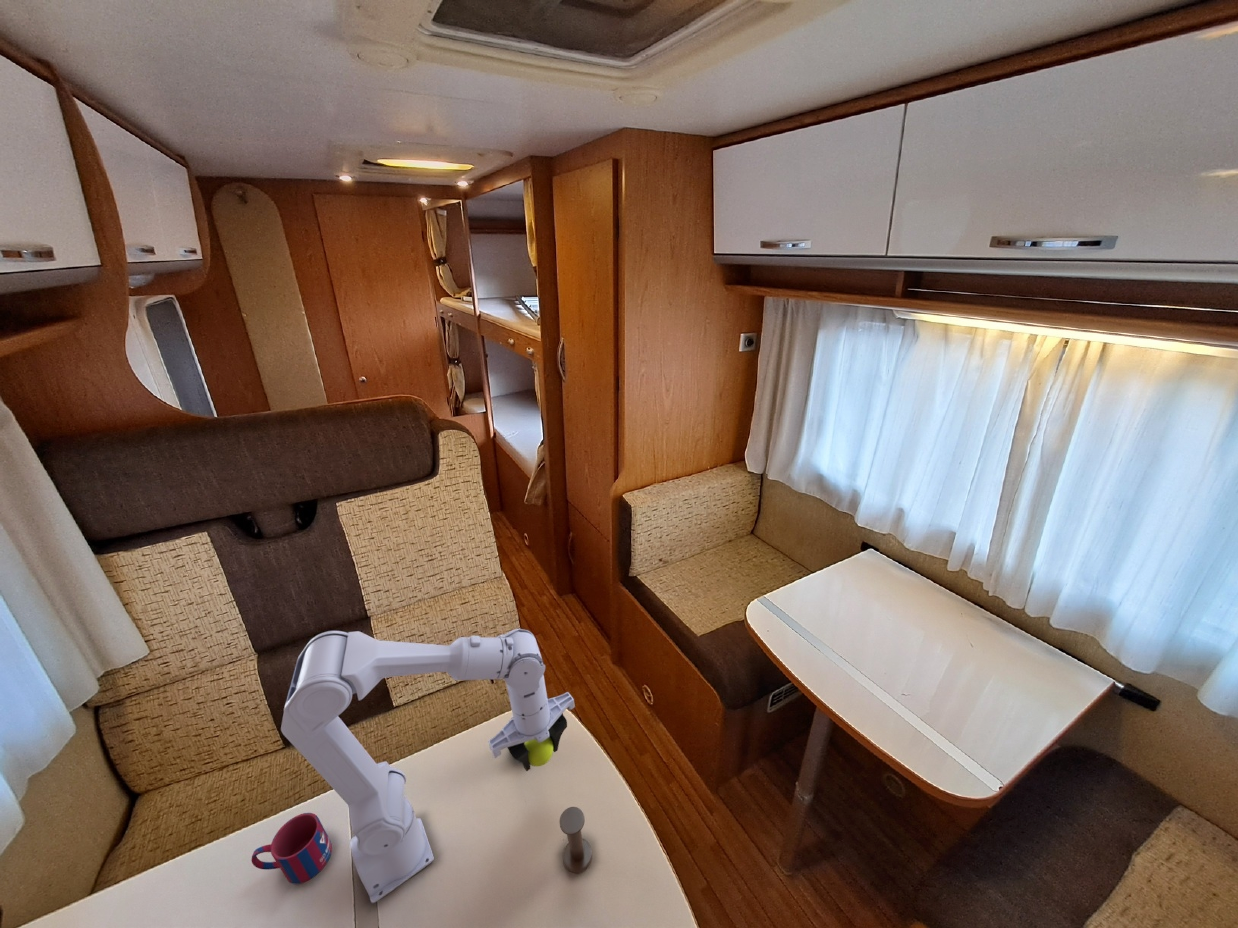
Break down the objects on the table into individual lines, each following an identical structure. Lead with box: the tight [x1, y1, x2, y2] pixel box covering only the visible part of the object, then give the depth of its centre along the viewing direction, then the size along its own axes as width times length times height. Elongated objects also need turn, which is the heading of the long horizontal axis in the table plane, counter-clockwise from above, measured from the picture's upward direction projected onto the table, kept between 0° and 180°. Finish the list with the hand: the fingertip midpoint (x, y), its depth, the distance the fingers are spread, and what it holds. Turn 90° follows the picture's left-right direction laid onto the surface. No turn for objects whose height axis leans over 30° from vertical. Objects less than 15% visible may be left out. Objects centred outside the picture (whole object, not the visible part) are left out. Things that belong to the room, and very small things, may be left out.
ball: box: [525, 737, 554, 767], centre depth 81 cm, size 5×5×5 cm
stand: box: [558, 806, 593, 874], centre depth 75 cm, size 5×5×10 cm
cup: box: [250, 812, 333, 885], centre depth 78 cm, size 7×10×7 cm
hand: (539, 756), depth 82 cm, fingers closed on ball, 4 cm apart
